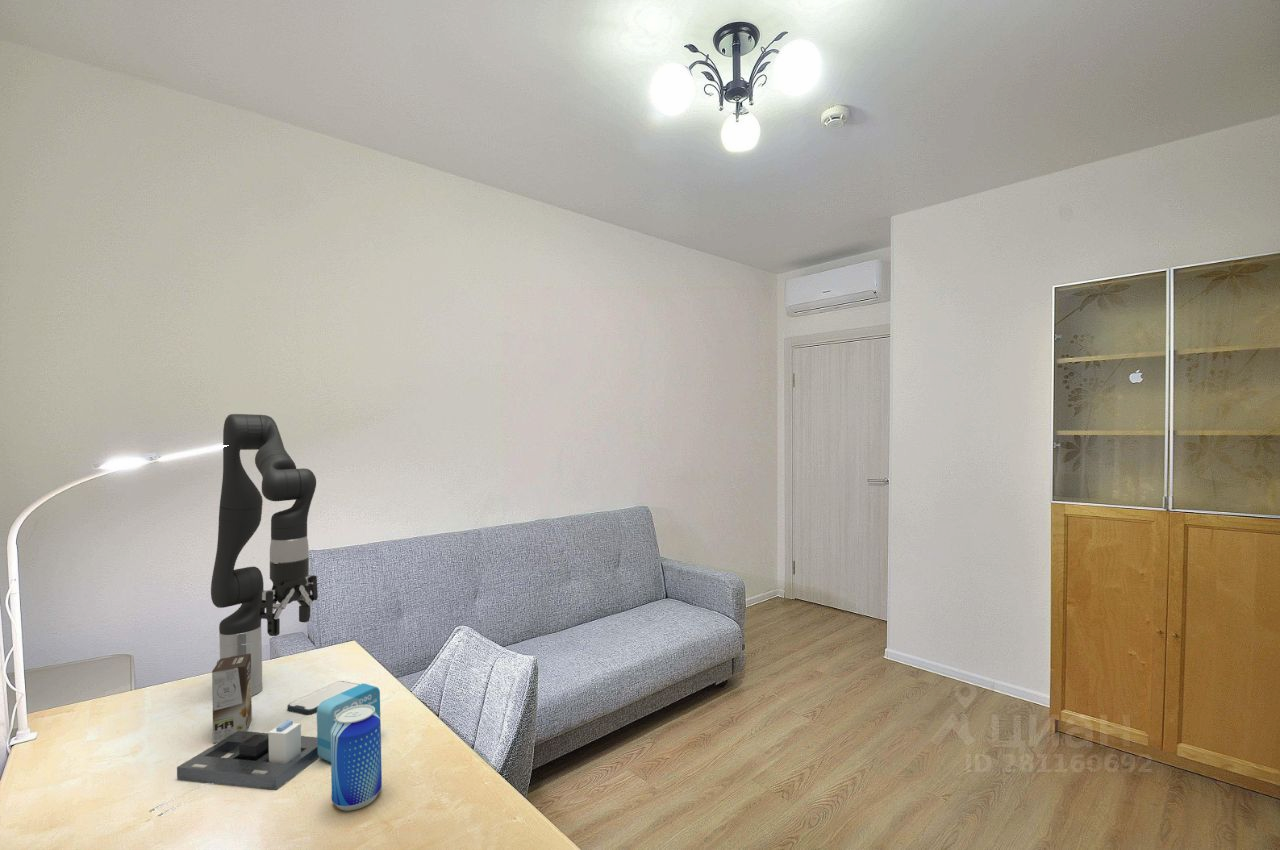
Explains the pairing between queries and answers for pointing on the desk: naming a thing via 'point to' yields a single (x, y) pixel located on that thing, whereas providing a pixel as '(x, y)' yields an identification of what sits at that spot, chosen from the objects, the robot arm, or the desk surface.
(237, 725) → the coffee box
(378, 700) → the teal rounded box
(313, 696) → the phone case
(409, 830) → the desk surface
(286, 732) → the plug
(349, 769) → the beer can
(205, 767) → the panel
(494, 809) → the desk surface
